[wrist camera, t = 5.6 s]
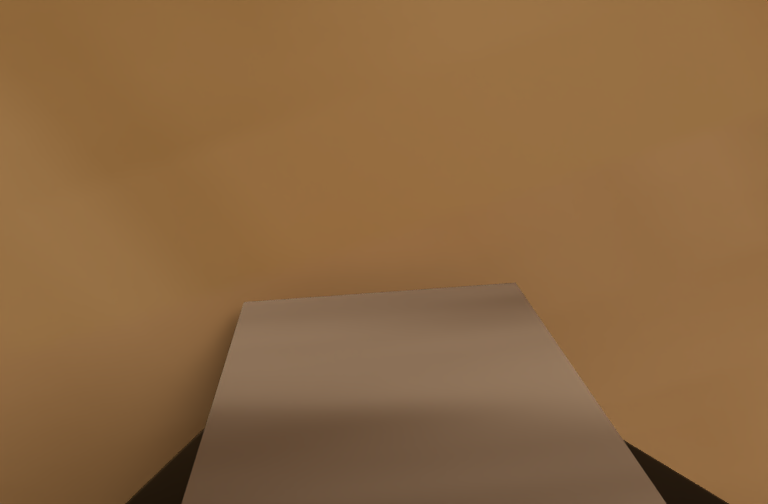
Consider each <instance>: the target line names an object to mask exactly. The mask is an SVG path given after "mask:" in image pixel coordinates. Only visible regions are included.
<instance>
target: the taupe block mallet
mask: <svg viewBox="0 0 768 504" xmlns="http://www.w3.org/2000/svg"><path fill="white" fill-rule="evenodd" d="M182 504H666V502H665V501H664V499H663V498H662V496H661V495H660V493H659V492H658V490H657V489H656V488H655V486H654V485H653V483H652V482H651V480H650V479H649V477H648V476H647V474H646V473H645V471H644V470H643V469H642V467H641V466H640V464H639V463H638V461H637V460H636V458H635V457H634V455H633V454H632V452H631V451H630V450H629V448H628V447H627V445H626V444H625V442H624V441H623V439H622V438H621V436H620V435H619V433H618V432H617V431H616V429H615V428H614V426H613V425H612V423H611V422H610V420H609V419H608V417H607V416H606V414H605V413H604V412H603V410H602V409H601V407H600V406H599V404H598V403H597V401H596V400H595V398H594V397H593V395H592V394H591V393H590V391H589V390H588V388H587V387H586V385H585V384H584V382H583V381H582V379H581V378H580V376H579V375H578V373H577V372H576V371H575V369H574V368H573V366H572V365H571V363H570V362H569V360H568V359H567V357H566V356H565V354H564V353H563V352H562V350H561V349H560V347H559V346H558V344H557V343H556V341H555V340H554V338H553V337H552V335H551V334H550V333H549V331H548V330H547V328H546V327H545V325H544V324H543V322H542V321H541V319H540V318H539V316H538V315H537V314H536V312H535V311H534V309H533V308H532V306H531V305H530V303H529V302H528V300H527V299H526V297H525V296H524V295H523V293H522V292H521V290H520V289H519V287H518V286H517V284H516V283H505V284H491V285H477V286H463V287H449V288H435V289H421V290H407V291H393V292H379V293H365V294H351V295H337V296H323V297H309V298H295V299H281V300H267V301H253V302H244V303H243V307H242V310H241V313H240V316H239V320H238V323H237V326H236V329H235V332H234V336H233V339H232V342H231V345H230V349H229V352H228V355H227V358H226V362H225V365H224V368H223V371H222V375H221V378H220V381H219V384H218V387H217V391H216V394H215V397H214V400H213V404H212V407H211V410H210V413H209V417H208V420H207V423H206V426H205V430H204V433H203V436H202V439H201V442H200V446H199V449H198V452H197V455H196V459H195V462H194V465H193V468H192V472H191V475H190V478H189V481H188V485H187V488H186V491H185V494H184V497H183V501H182Z"/></svg>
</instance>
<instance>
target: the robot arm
mask: <svg viewBox="0 0 768 504" xmlns="http://www.w3.org/2000/svg"><path fill="white" fill-rule="evenodd" d="M204 430H205V428H204V429H203V430H202V431H201V432H200V433H199V434H198V435H197V436H196V437H195V438H193V439H192V440H191V441H190V442H189V443H188V444H187V445H186V446H185V447H184V448H183V449H182V450H181V451H180V452H179V453H178V454H177V455H176V456H175V457H174V458H173V459H172V460H170V461H169V462H168V463H167V464H166V465H165V466H164V467H163V468H162V469H161V470H160V471H159V472H158V473H157V474H156V475H155V476H154V477H153V478H152V479H151V480H150V481H148V482H147V483H146V484H145V485H144V486H143V487H142V488H141V489H140V490H139V491H138V492H137V493H136V494H135V495H134V496H133V497H132V498H131V499H130V500H129V501H128V502H127V503H125V504H182V501H183V497H184V494H185V491H186V488H187V485H188V481H189V478H190V475H191V472H192V468H193V465H194V462H195V459H196V455H197V452H198V449H199V446H200V442H201V439H202V436H203V433H204ZM623 441H624V440H623ZM624 442H625V444H626V445H627V447H628V448H629V450H630V451H631V452H632V454H633V455H634V457H635V458H636V460H637V461H638V463H639V464H640V466H641V467H642V469H643V470H644V471H645V473H646V474H647V476H648V477H649V479H650V480H651V482H652V483H653V485H654V486H655V488H656V489H657V490H658V492H659V493H660V495H661V496H662V498H663V499H664V501H665V502H666V504H729V503H727V502H725V501H724V500H722V499H720V498H719V497H717V496H715V495H714V494H712V493H710V492H709V491H707V490H705V489H704V488H702V487H700V486H699V485H697V484H695V483H694V482H692V481H691V480H689V479H687V478H686V477H684V476H682V475H681V474H679V473H677V472H676V471H674V470H672V469H671V468H669V467H667V466H666V465H664V464H662V463H661V462H659V461H657V460H656V459H654V458H652V457H651V456H649V455H647V454H646V453H644V452H643V451H641V450H639V449H638V448H636V447H634V446H633V445H631V444H629V443H628V442H626V441H624Z"/></svg>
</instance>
